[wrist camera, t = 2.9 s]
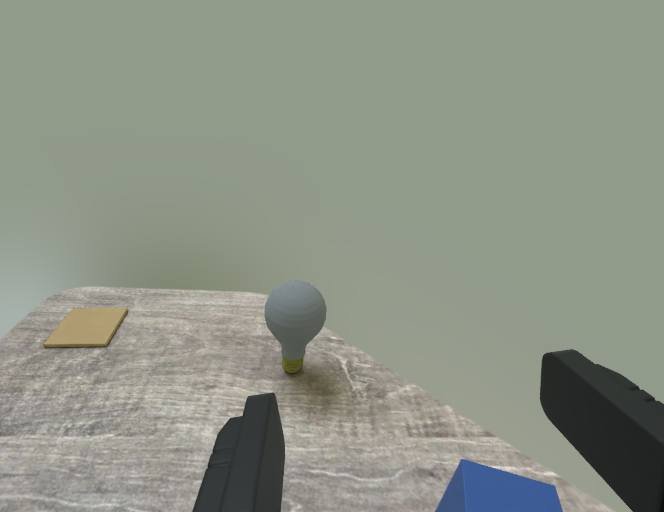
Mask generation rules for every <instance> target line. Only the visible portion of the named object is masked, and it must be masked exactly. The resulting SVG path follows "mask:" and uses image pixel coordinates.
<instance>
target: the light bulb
mask: <svg viewBox="0 0 664 512" xmlns="http://www.w3.org/2000/svg"><path fill="white" fill-rule="evenodd" d="M325 319H326V305H325V301H324V299H323V297H322V295H321V293H320V292H319V291H318V290H317V289H316V288H315V287H314V286H312V285H311V284H309V283H307V282H303V281H289V282H285V283H283V284H281V285H280V286H278V287H277V288H275V289H274V290H273V291H272V293H271V294H270V296H269V297H268V300H267V302H266V305H265V320H266V323H267V326H268V328H269V330H270V331H271V333H272V334H273V335H274V336H275V337H276V339H277V340H278V341H279V342H280V343H281V345H282V350H281V352H282V367H283V369H284V370H285V371H287V372H289V373H294V372H297V371H299V370H300V369H301V367H302V365H303V357H304V354H305V347H306V345H307V344H308V343H309V342H310V341H311V340H312V339H313V338H314V337H315V336H316V335H317V334H318V333H319V332H320V330H321V329H322V327H323V324H324V322H325Z"/></svg>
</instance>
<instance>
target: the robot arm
mask: <svg viewBox="0 0 664 512" xmlns="http://www.w3.org/2000/svg"><path fill="white" fill-rule="evenodd" d="M540 401H541V405H542V408H543V410H544V412H545V414H546V416H547V417H548V419H549V420H550V421H551V422H552V423H553V424H554V426H555V427H556V428H557V429H558V430H559V431H560V432H561V433H562V434H563V435H564V437H565V438H566V439H567V440H568V441H569V442H570V443H571V444H572V445H573V446H574V447H575V449H576V450H577V451H579V453H580V454H581V455H582V456H583V457H584V458H585V460H586V461H587V462H588V463H589V464H590V465H591V466H592V467H593V468H594V469H595V470H596V472H597V473H598V474H599V475H600V476H601V477H602V478H603V479H604V480H605V482H606V483H607V484H608V485H609V486H610V487H611V488H612V489H613V490H614V491H615V492H616V494H617V495H618V496H619V497H620V498H621V499H622V500H623V501H624V502H625V503H626V505H627V506H628V507H629V508H630V509H631V510H632V511H633V512H664V404H663V403H661V402H660V401H655V398H654V397H652V396H651V395H650V394H648V393H647V392H645V391H644V390H640V389H639V387H638V386H636V385H635V384H634V383H632V382H631V381H630V380H628V379H627V378H625V377H624V376H622V375H621V374H619V373H617V372H615V371H612V370H610V369H608V368H605V367H603V366H601V365H599V364H594V363H593V362H591V361H590V360H589V359H587V358H586V357H584V356H583V355H582V354H580V353H579V352H578V351H576V350H572V349H571V350H563V351H557V352H550V353H546V354H544V355H543V358H542V369H541V388H540ZM284 463H285V443H284V435H283V430H282V425H281V420H280V415H279V410H278V405H277V401H276V396H275V394H274V393H267V394H260V395H254V396H248V398H247V400H246V404H245V408H244V412H243V416H240V417H234V418H230V419H229V420H228V422H227V423H226V424H225V425H224V427H223V428H222V429H221V430H220V432H219V433H218V435H217V438H216V442H215V445H214V448H213V454H211V457H210V460H209V463H208V468H207V469H206V472H205V475H204V478H203V481H202V484H201V487H200V490H199V493H198V496H197V499H196V502H195V505H194V508H193V511H192V512H281V500H282V488H283V475H284Z"/></svg>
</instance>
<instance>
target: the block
mask: <svg viewBox="0 0 664 512" xmlns="http://www.w3.org/2000/svg"><path fill="white" fill-rule="evenodd" d="M435 512H563V511H562V508H561V504H560V501H559V498H558V494H557V491H556V488H555V486H553V485H550V484H547V483H543V482H540V481H536V480H533V479H529V478H526V477H522V476H519V475H516V474H512V473H509V472H505V471H502V470H498V469H495V468H491V467H488V466H485V465H481V464H478V463H474V462H471V461H467V460H464V459H461V461H460V463H459V465H458V467H457V469H456V471H455V473H454V475H453V477H452V479H451V481H450V483H449V485H448V487H447V489H446V491H445V493H444V495H443V497H442V499H441V501H440V503H439V505H438V507H437V509H436V511H435Z"/></svg>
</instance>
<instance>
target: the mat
mask: <svg viewBox="0 0 664 512" xmlns="http://www.w3.org/2000/svg"><path fill="white" fill-rule="evenodd" d="M127 311H128V309H127V308H73V309H72V310H71V311H70V312H69V314H68V315H67V316H66V317H65V318H64V320H63V321H62V322H61V323H60V325H59V326H58V327H57V328H56V329H55V331H54V332H53V333H52V334H51V335H50V337H49V338H48V339H47V340H46V342H45V343H44V344H43V345H44V347H92V346H107V344H108V343H109V341H110V339H111V338H112V336H113V334H114V333H115V331H116V330H117V328H118V326H119V325H120V323H121V321H122V320H123V318H124V316H125V315H126V313H127Z"/></svg>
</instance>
